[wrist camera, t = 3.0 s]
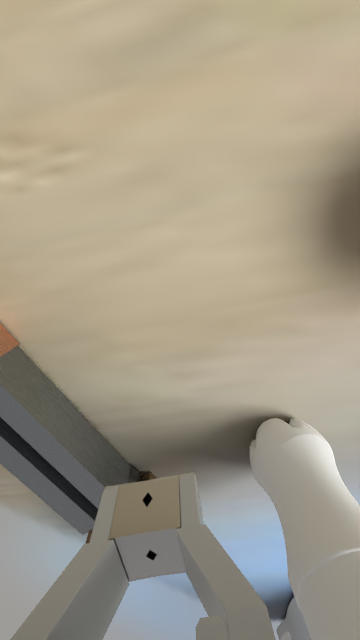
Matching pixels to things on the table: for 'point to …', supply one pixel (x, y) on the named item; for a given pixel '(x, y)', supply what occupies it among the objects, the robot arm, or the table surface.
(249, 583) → the robot arm
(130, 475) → the tong arm
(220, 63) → the table surface
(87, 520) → the tong base
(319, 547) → the water bottle
